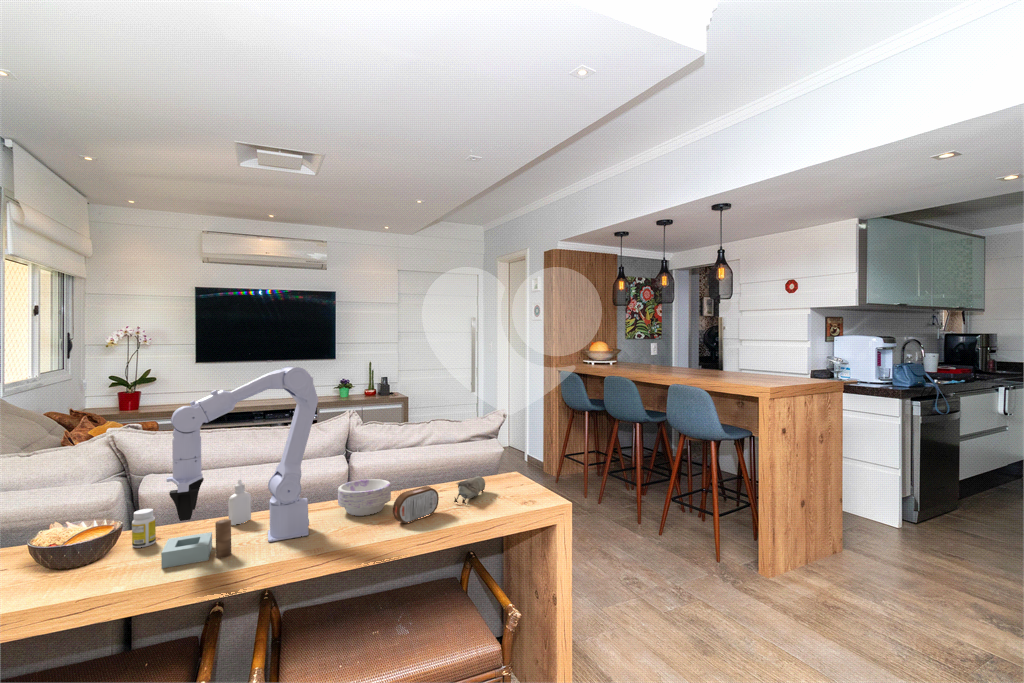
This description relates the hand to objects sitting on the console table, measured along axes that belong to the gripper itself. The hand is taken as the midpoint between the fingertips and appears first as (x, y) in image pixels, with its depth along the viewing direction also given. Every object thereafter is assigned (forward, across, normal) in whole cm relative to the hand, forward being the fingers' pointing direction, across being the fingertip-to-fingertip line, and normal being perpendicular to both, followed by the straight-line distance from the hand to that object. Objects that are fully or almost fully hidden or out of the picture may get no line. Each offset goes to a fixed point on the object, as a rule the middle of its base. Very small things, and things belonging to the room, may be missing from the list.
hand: (187, 514), depth 117 cm
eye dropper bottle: (+10, -20, +10) cm, 25 cm away
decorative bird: (+10, -9, +76) cm, 77 cm away
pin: (+10, +3, +8) cm, 13 cm away
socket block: (+10, 0, 0) cm, 10 cm away
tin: (+10, +1, +55) cm, 56 cm away
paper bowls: (+10, -13, +43) cm, 46 cm away
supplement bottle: (+10, -14, -11) cm, 20 cm away
